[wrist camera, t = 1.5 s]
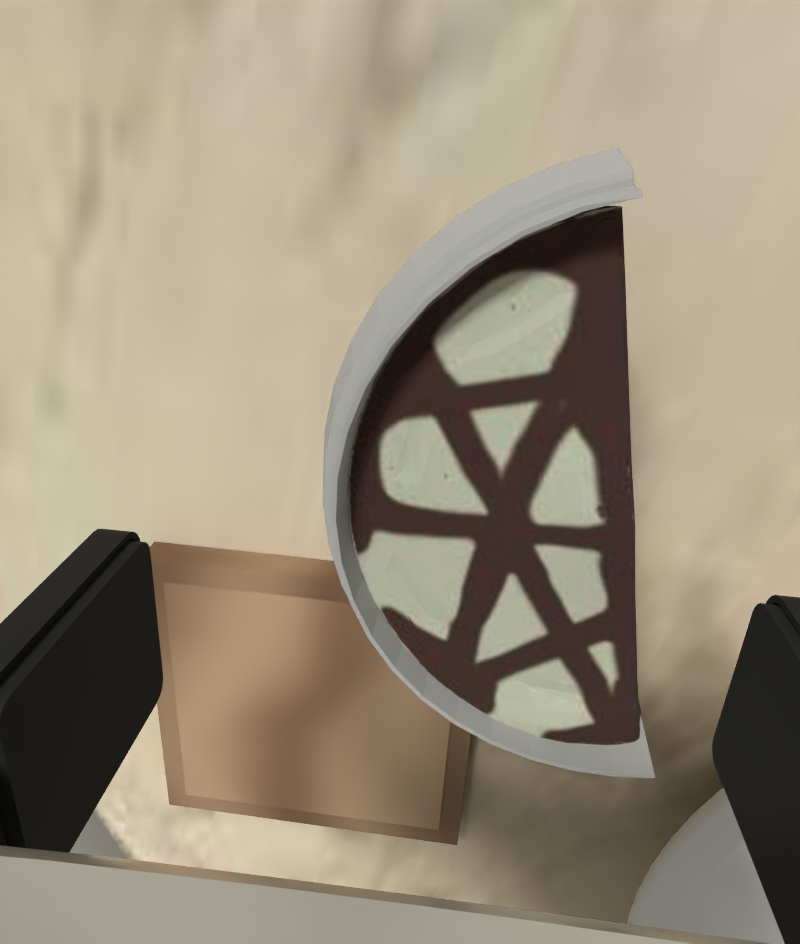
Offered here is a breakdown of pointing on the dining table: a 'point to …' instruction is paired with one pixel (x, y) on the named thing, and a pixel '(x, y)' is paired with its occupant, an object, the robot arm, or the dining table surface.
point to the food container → (501, 473)
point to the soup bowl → (706, 881)
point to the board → (293, 702)
